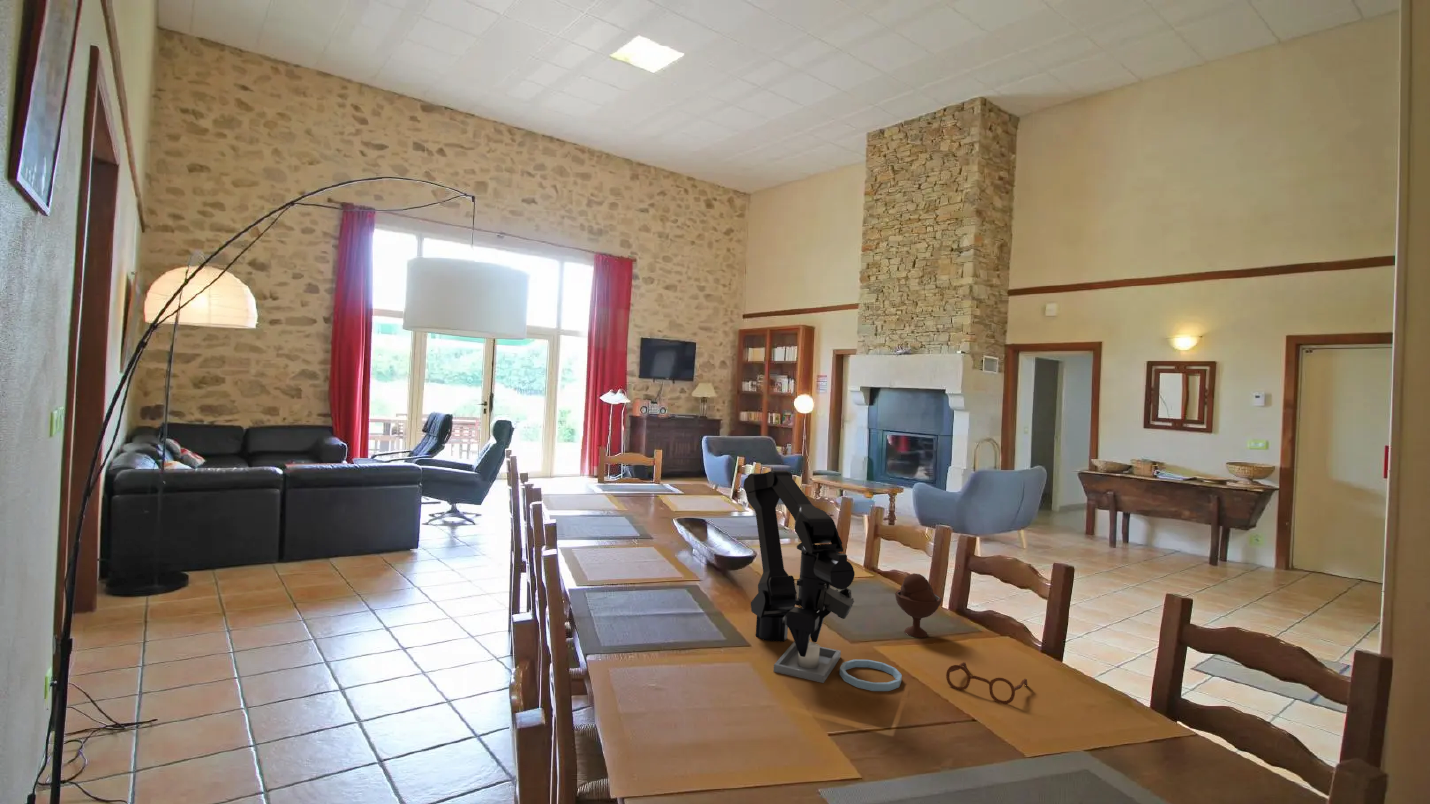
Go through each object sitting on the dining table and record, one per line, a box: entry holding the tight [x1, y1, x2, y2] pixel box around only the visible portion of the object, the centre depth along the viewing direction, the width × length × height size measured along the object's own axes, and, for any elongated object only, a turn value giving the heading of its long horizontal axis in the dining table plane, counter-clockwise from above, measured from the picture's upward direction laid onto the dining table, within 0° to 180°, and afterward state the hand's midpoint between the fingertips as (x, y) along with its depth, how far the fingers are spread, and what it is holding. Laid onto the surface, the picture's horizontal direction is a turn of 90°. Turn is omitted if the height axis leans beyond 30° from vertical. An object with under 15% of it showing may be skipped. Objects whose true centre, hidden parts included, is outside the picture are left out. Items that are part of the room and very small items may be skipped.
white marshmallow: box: [798, 641, 821, 668], centre depth 144 cm, size 4×4×4 cm
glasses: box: [945, 661, 1028, 705], centre depth 141 cm, size 13×13×5 cm
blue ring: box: [839, 658, 903, 692], centre depth 139 cm, size 12×12×2 cm
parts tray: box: [773, 640, 842, 684], centre depth 144 cm, size 10×15×2 cm
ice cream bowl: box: [894, 573, 942, 638], centre depth 169 cm, size 11×11×15 cm
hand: (808, 648), depth 144 cm, fingers open, 9 cm apart
